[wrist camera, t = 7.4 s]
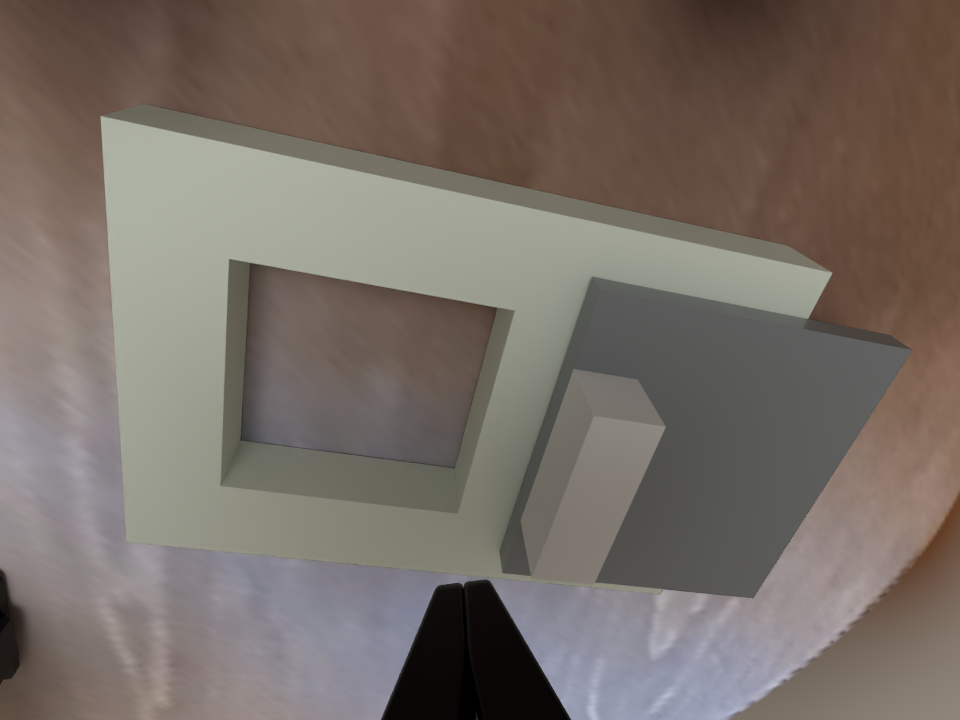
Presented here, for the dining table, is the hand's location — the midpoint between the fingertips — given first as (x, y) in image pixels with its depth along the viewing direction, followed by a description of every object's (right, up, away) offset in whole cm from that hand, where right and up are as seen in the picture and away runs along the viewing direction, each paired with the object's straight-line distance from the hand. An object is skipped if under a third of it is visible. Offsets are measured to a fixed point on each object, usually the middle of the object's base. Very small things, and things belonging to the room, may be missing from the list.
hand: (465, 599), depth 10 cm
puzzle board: (0, +3, +12) cm, 12 cm away
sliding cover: (+7, +1, +11) cm, 13 cm away
